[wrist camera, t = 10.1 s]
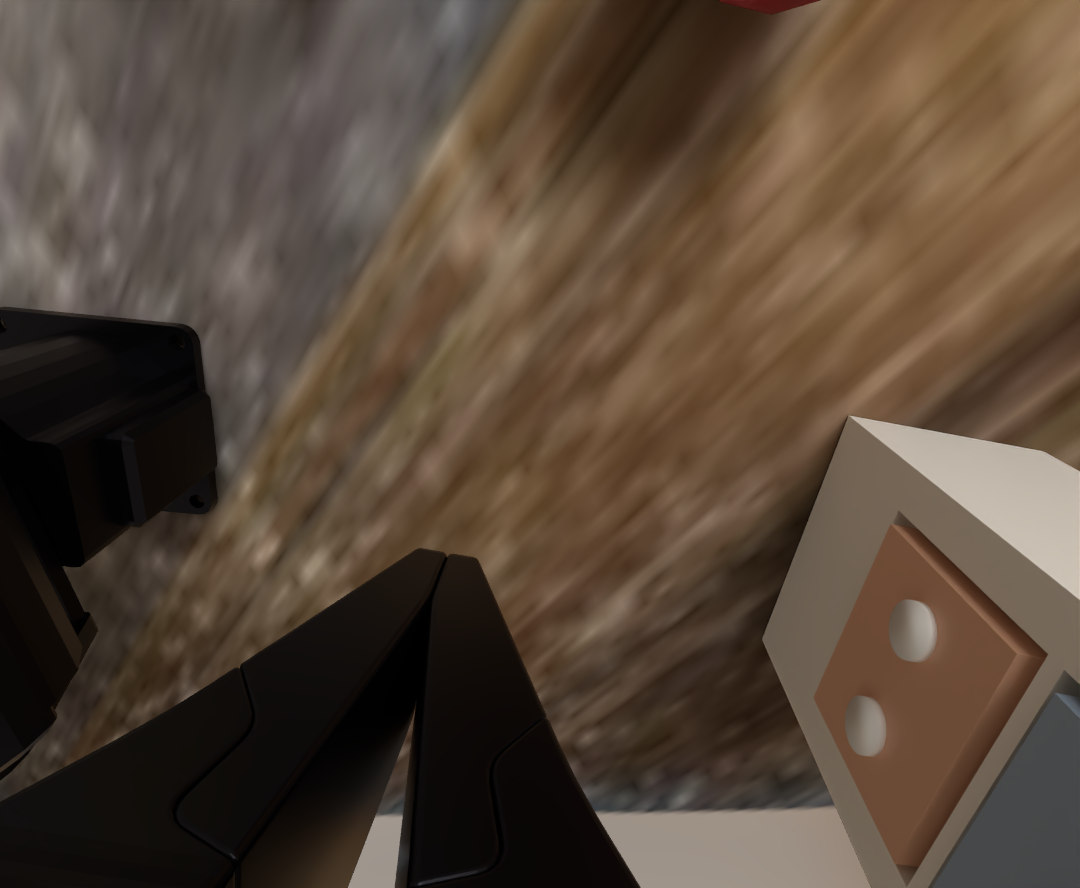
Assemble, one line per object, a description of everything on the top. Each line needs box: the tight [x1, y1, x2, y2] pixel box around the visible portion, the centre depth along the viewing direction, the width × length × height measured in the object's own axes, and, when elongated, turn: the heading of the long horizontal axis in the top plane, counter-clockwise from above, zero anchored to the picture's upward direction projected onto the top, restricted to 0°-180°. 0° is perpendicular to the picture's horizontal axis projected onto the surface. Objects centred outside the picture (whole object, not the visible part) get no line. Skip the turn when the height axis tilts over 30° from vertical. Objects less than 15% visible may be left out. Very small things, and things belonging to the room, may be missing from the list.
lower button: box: [813, 524, 1048, 867], centre depth 15 cm, size 3×6×5 cm, turn 170°
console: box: [762, 416, 1080, 888], centre depth 14 cm, size 6×9×16 cm
